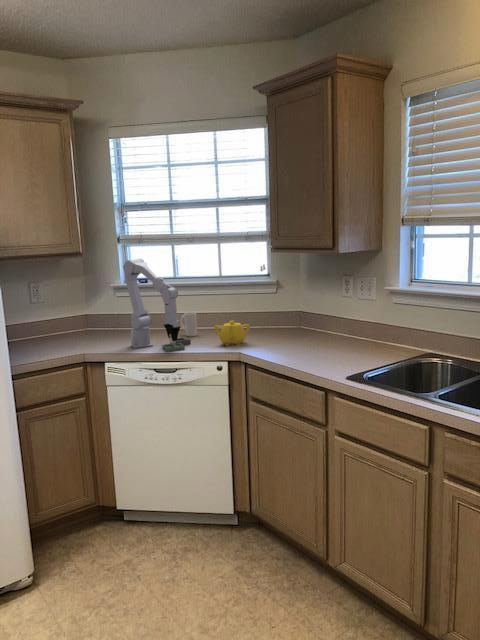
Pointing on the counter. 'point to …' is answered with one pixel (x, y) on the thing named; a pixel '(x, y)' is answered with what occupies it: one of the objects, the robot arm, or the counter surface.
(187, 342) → the block
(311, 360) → the counter surface
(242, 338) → the teapot
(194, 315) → the mug
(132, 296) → the robot arm
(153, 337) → the counter surface
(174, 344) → the small bottle
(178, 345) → the tray
